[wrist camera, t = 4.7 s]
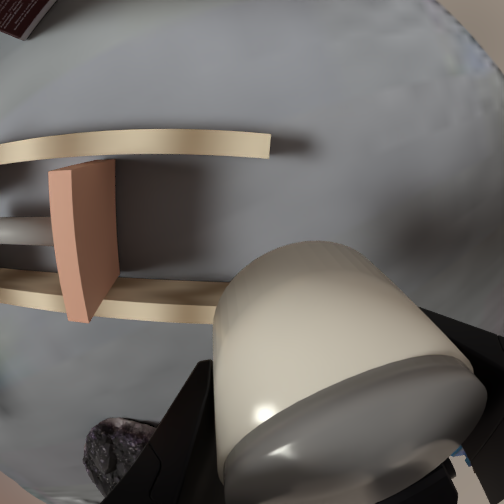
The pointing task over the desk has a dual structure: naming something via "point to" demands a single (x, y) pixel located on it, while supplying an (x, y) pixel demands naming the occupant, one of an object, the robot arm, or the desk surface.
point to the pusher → (76, 234)
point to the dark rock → (113, 450)
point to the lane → (124, 289)
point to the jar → (332, 382)
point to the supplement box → (22, 16)
